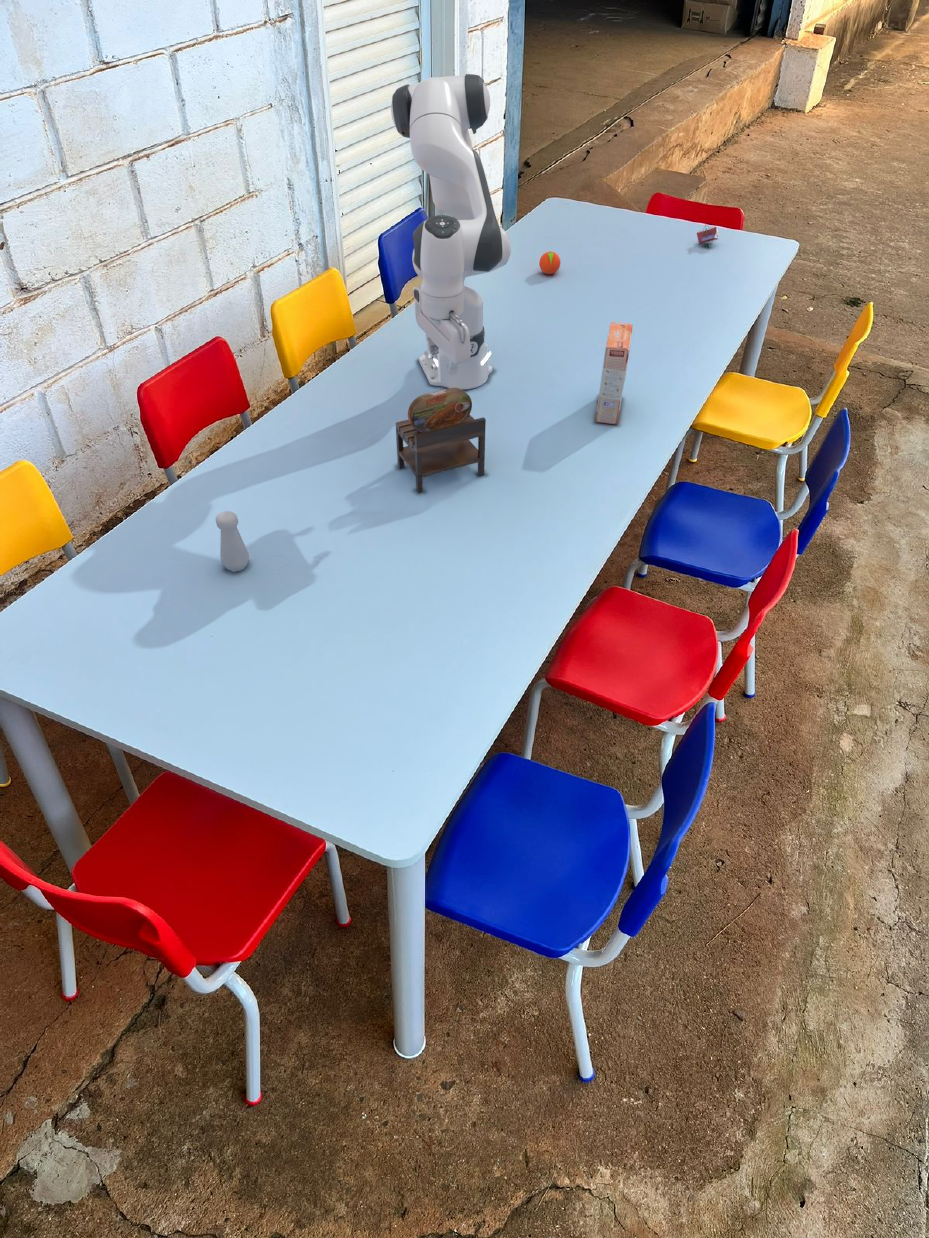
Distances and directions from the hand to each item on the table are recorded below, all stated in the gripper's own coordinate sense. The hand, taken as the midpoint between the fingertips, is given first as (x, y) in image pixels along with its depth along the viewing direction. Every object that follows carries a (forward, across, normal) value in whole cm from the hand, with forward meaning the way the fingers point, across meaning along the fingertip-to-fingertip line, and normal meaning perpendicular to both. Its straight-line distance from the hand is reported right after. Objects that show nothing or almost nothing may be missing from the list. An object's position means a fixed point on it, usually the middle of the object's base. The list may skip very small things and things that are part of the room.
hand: (442, 363), depth 194 cm
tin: (+15, -1, +1) cm, 15 cm away
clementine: (+29, +86, -79) cm, 120 cm away
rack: (+27, -1, +1) cm, 27 cm away
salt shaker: (+27, -14, +54) cm, 62 cm away
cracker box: (+27, +5, -50) cm, 57 cm away
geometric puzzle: (+29, +84, -141) cm, 166 cm away
